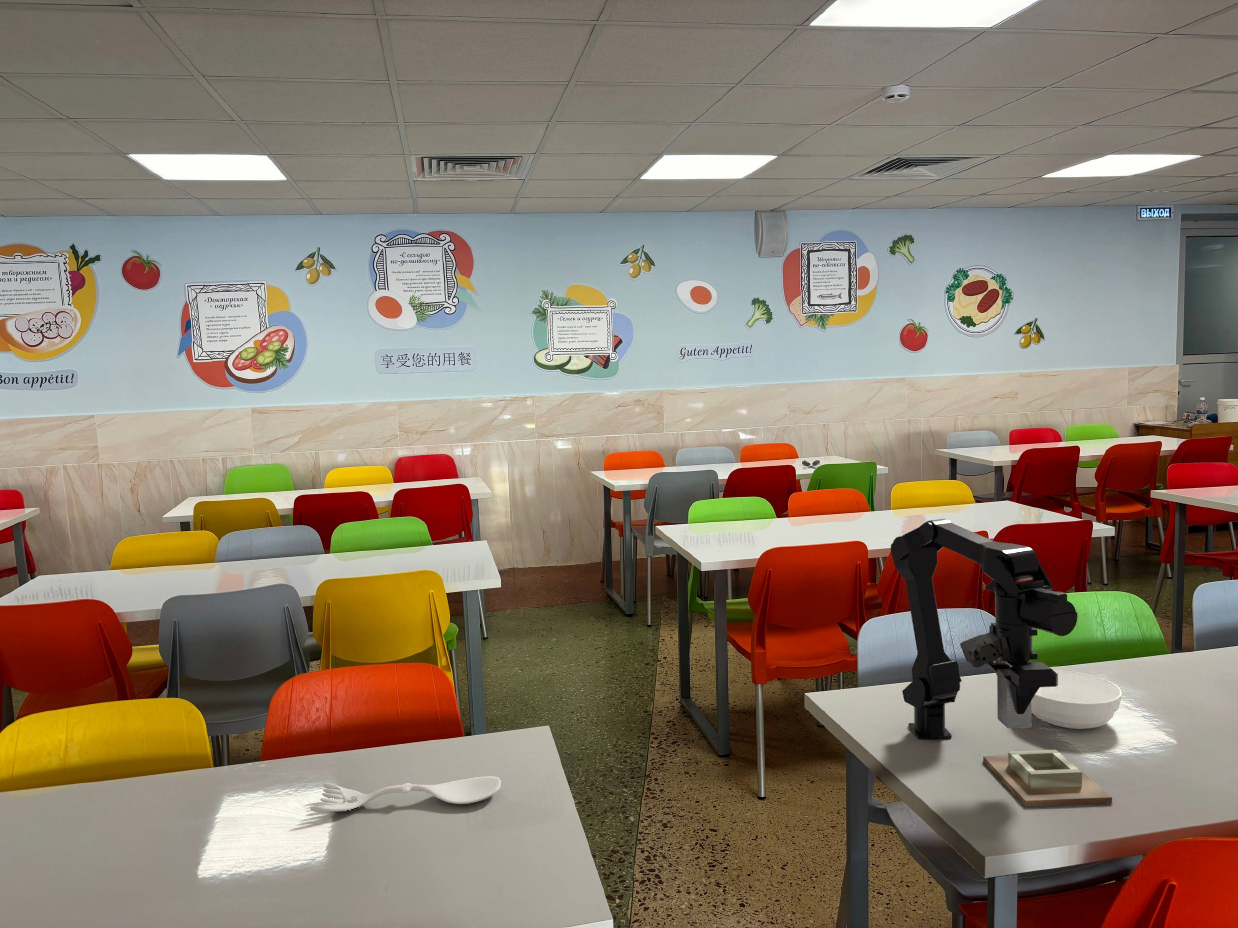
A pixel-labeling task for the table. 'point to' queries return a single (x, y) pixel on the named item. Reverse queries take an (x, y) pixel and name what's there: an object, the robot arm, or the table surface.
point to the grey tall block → (1009, 704)
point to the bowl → (1077, 701)
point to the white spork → (448, 792)
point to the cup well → (1045, 779)
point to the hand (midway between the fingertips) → (1014, 708)
